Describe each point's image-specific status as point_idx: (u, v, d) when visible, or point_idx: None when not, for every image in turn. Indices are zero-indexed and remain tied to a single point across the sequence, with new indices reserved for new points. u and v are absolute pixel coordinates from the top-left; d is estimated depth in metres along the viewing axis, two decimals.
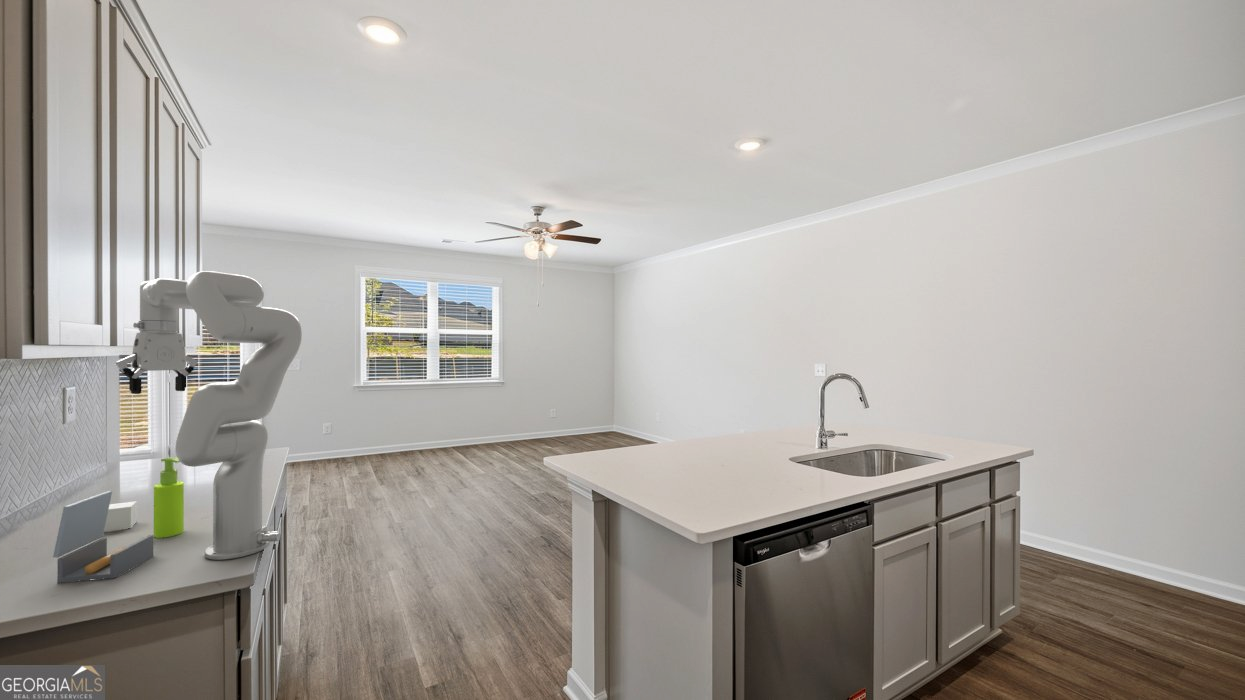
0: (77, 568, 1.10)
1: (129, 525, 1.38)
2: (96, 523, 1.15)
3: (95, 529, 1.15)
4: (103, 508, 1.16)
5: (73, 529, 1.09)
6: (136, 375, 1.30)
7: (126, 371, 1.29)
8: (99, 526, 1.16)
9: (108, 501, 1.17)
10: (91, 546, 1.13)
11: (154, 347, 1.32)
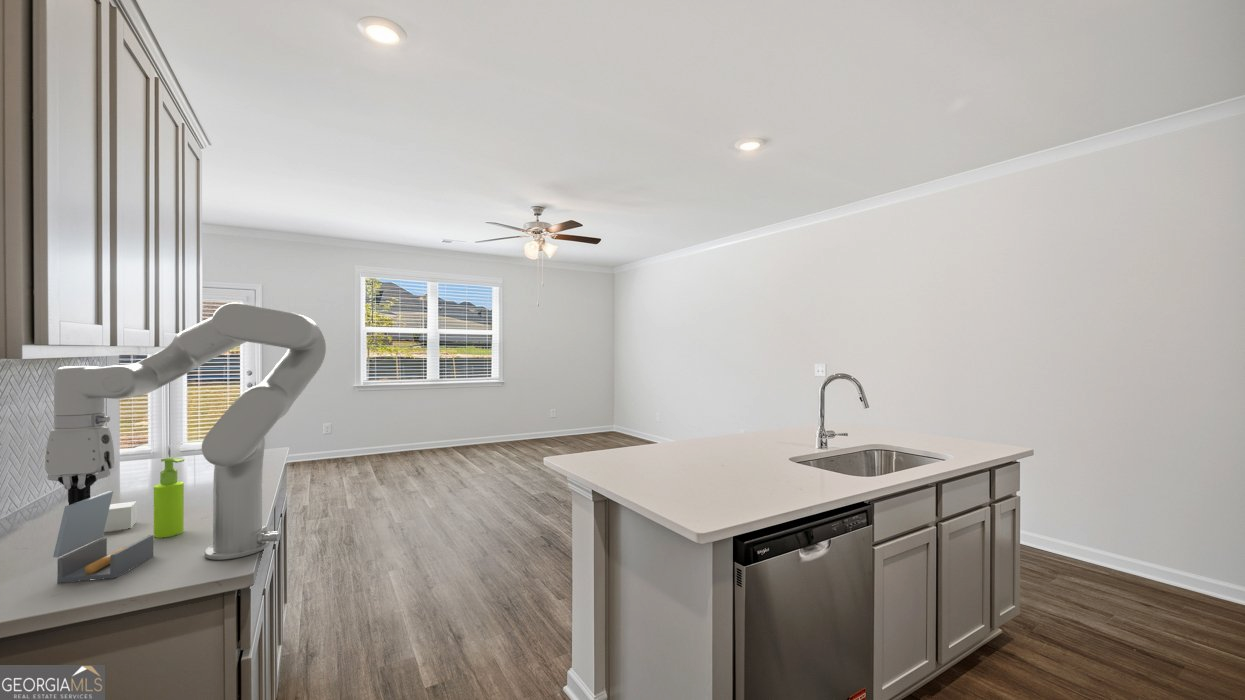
0: (77, 568, 1.10)
1: (129, 525, 1.38)
2: (96, 523, 1.15)
3: (95, 529, 1.15)
4: (104, 508, 1.16)
5: (74, 529, 1.09)
6: None
7: None
8: (99, 526, 1.16)
9: (109, 501, 1.17)
10: (91, 546, 1.13)
11: None
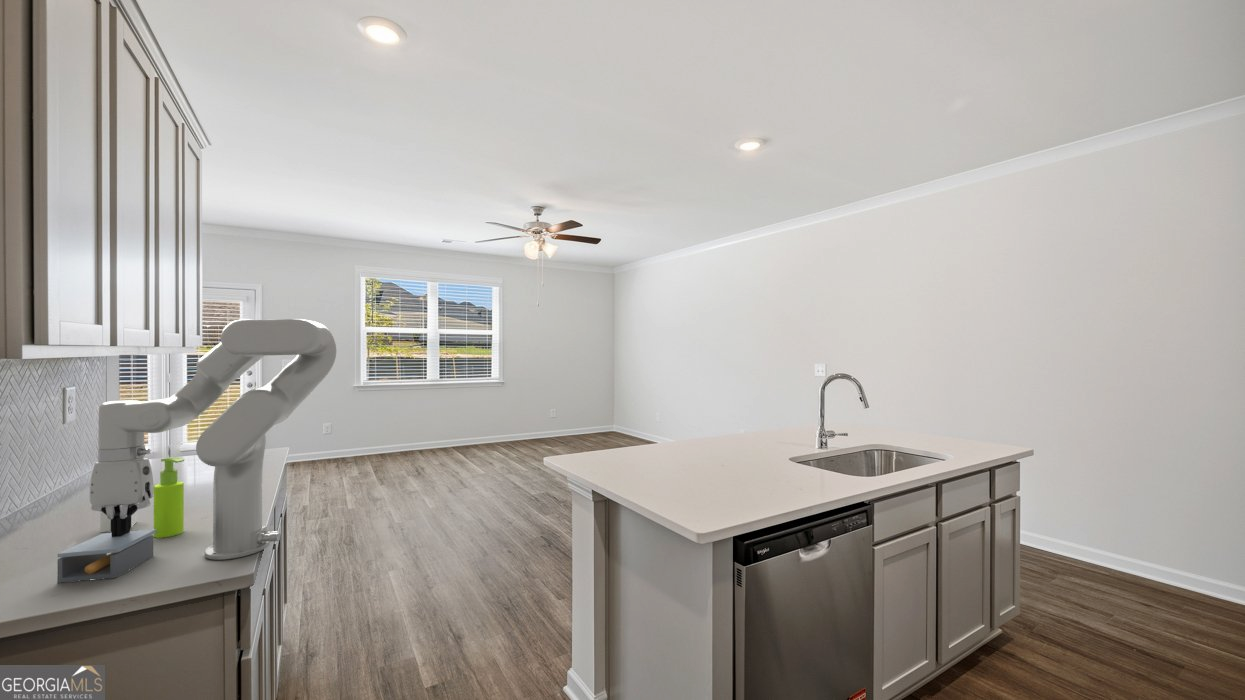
0: (77, 568, 1.10)
1: None
2: None
3: None
4: None
5: None
6: None
7: None
8: None
9: None
10: None
11: None
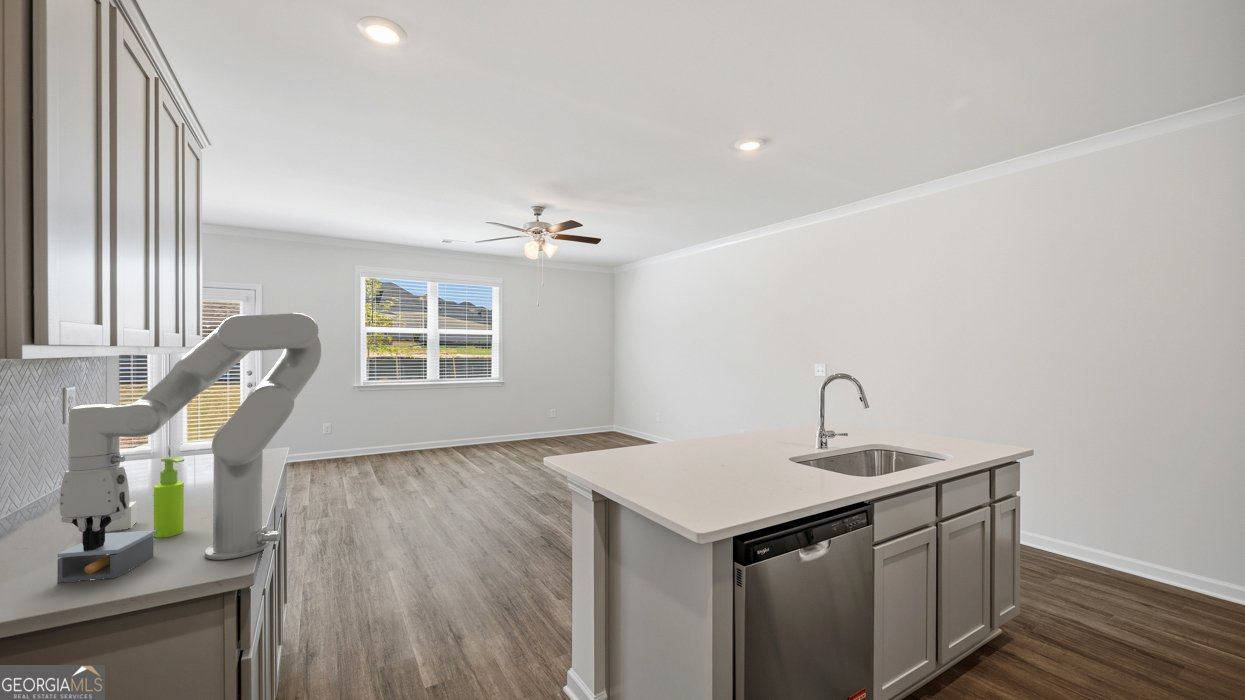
0: (77, 568, 1.10)
1: (129, 525, 1.38)
2: None
3: None
4: None
5: None
6: None
7: None
8: None
9: None
10: None
11: None
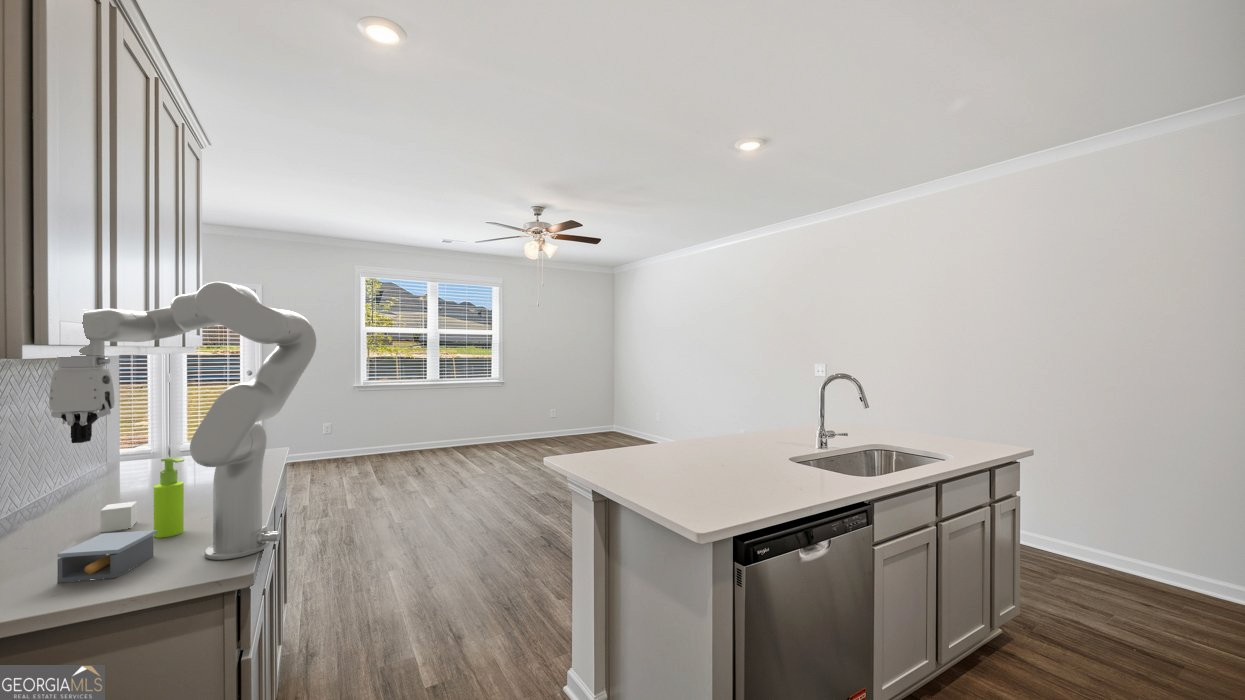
0: (77, 568, 1.10)
1: (129, 525, 1.38)
2: None
3: None
4: None
5: None
6: None
7: None
8: None
9: None
10: None
11: None
